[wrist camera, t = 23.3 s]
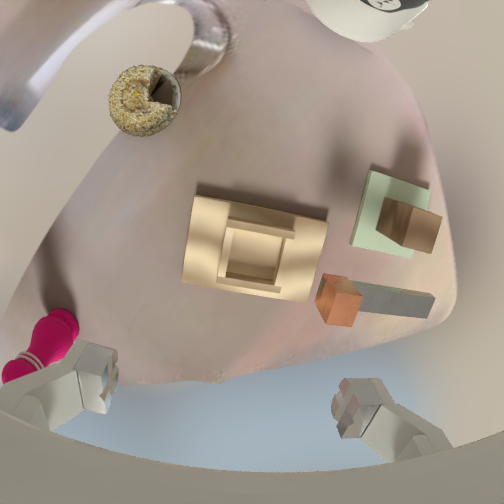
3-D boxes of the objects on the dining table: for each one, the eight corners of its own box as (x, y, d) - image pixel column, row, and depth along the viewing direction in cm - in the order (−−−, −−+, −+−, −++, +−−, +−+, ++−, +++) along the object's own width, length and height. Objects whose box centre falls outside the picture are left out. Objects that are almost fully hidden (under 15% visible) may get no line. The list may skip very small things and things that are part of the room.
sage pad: (369, 169, 41) (371, 170, 40) (427, 190, 42) (431, 191, 41) (349, 243, 44) (352, 245, 43) (408, 256, 45) (411, 258, 44)
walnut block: (384, 196, 41) (413, 207, 33) (411, 205, 42) (442, 217, 34) (375, 229, 43) (401, 246, 35) (402, 236, 43) (431, 253, 36)
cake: (130, 150, 38) (116, 151, 33) (100, 92, 35) (84, 86, 30) (194, 112, 37) (189, 106, 32) (162, 53, 34) (152, 41, 29)
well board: (195, 194, 40) (192, 198, 37) (325, 220, 43) (333, 226, 39) (182, 277, 44) (179, 288, 41) (303, 298, 46) (309, 309, 43)
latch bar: (323, 273, 34) (336, 292, 29) (430, 291, 36) (451, 308, 31) (314, 301, 35) (325, 324, 30) (420, 315, 37) (439, 334, 32)
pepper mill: (61, 297, 44) (-4, 369, 25) (89, 330, 46) (38, 412, 27) (41, 317, 45) (-19, 386, 26) (67, 347, 47) (18, 424, 28)
